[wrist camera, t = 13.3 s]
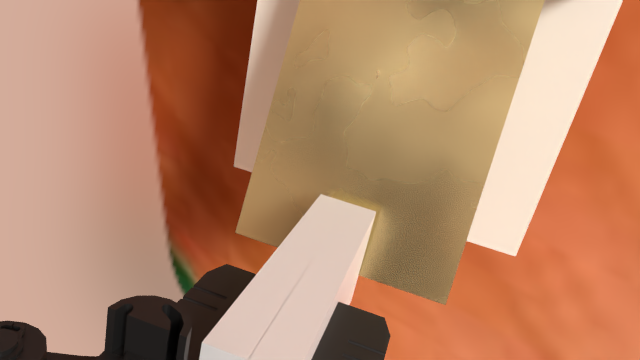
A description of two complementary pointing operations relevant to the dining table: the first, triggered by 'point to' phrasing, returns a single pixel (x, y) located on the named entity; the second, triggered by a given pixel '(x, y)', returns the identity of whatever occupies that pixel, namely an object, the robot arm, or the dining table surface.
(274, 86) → the socket block
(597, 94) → the dining table surface
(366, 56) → the brass flap
